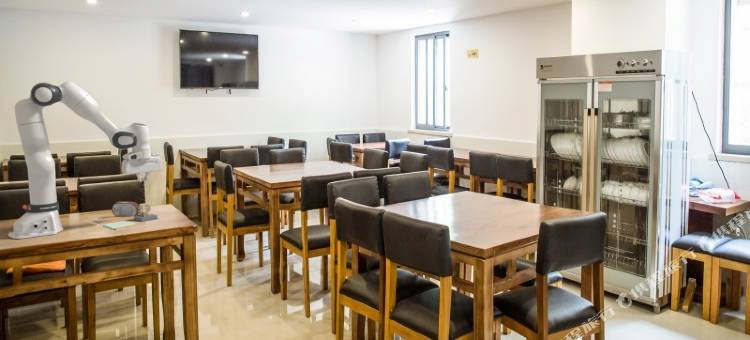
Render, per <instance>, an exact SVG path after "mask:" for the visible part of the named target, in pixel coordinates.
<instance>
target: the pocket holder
mask: <svg viewBox="0 0 750 340" xmlns="http://www.w3.org/2000/svg"><path fill="white" fill-rule="evenodd" d="M131 220H133V221H134V222H135V221H136V222H140V223H146V222H150V221H156V220H160V218H158V214H155V213H151V216H147V217H141V216H140V214H139V215H135V216H133V219H131Z"/></svg>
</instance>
